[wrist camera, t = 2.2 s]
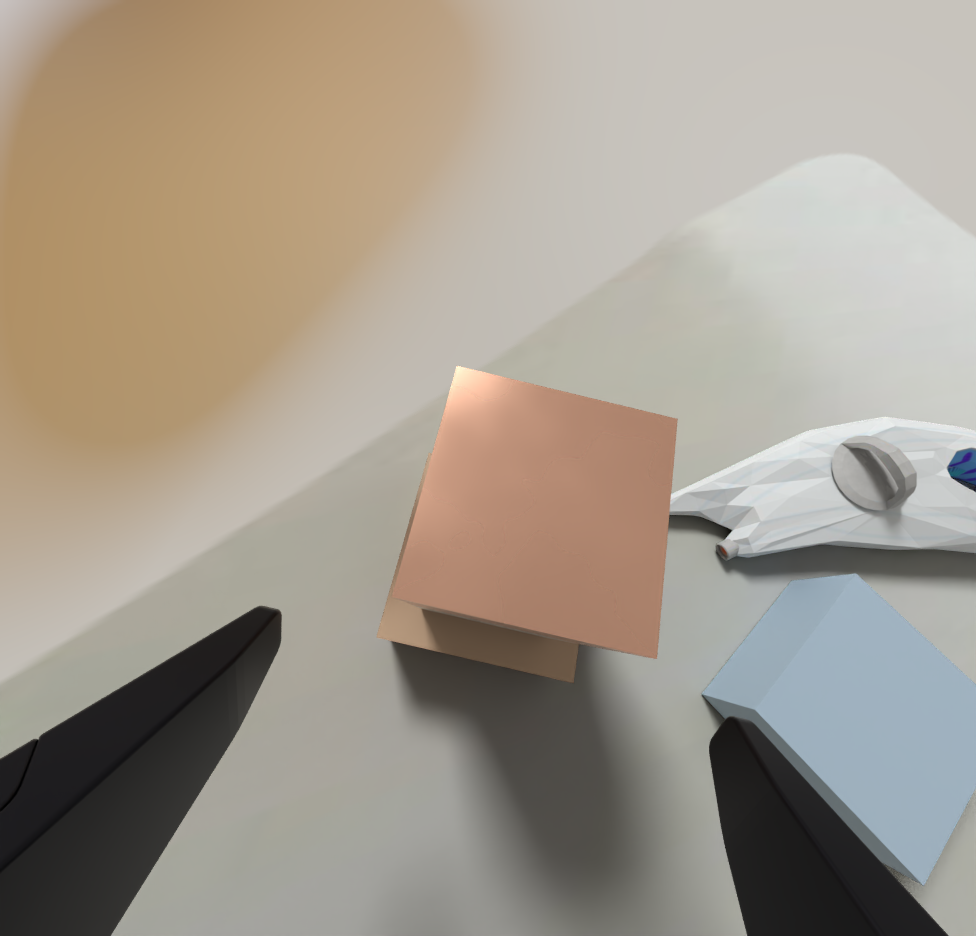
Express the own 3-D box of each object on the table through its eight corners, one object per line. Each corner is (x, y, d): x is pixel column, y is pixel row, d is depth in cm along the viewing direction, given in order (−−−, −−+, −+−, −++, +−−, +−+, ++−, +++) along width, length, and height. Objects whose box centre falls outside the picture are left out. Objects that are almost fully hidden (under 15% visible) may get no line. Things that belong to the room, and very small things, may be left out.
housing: (544, 637, 16) (656, 658, 7) (421, 608, 16) (391, 596, 7) (564, 516, 17) (677, 419, 9) (452, 489, 17) (457, 366, 9)
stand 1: (551, 672, 19) (573, 683, 16) (388, 634, 19) (376, 637, 15) (576, 513, 21) (600, 493, 18) (431, 478, 21) (428, 452, 18)
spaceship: (1031, 434, 25) (1149, 399, 21) (1081, 553, 23) (1222, 540, 19) (630, 433, 23) (672, 394, 19) (648, 564, 21) (699, 552, 17)
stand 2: (835, 836, 18) (923, 885, 14) (701, 694, 19) (754, 709, 16) (917, 701, 20) (1012, 718, 16) (791, 580, 21) (856, 573, 18)
